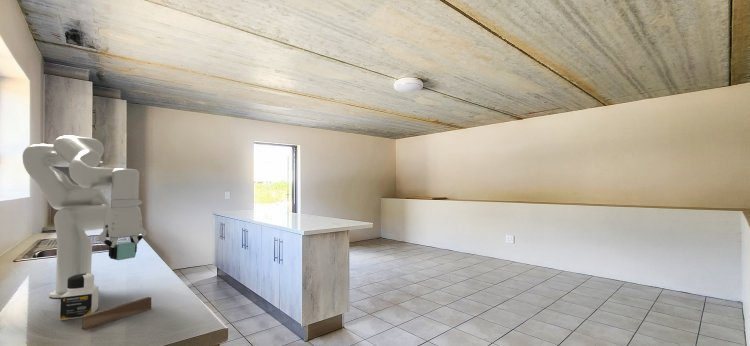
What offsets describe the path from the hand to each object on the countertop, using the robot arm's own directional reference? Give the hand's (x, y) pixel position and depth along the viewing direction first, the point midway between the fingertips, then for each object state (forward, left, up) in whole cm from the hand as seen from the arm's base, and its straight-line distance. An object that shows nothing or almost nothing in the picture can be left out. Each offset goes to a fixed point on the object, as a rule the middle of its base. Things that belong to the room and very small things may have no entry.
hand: (122, 256), depth 111 cm
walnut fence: (+16, -8, -15) cm, 23 cm away
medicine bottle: (+2, -12, -15) cm, 20 cm away
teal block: (0, 0, -1) cm, 1 cm away
